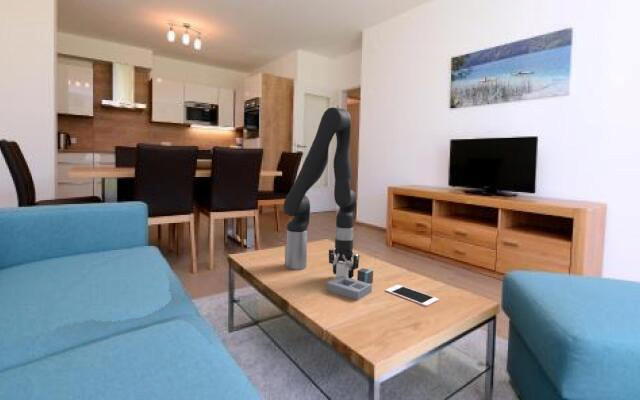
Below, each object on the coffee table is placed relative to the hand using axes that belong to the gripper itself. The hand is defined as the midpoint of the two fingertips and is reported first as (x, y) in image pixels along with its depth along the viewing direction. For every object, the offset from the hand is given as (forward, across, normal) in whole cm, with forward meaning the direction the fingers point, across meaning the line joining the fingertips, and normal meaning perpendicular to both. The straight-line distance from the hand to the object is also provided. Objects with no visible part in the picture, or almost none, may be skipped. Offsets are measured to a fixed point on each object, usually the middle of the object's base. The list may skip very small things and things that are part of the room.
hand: (342, 275), depth 144 cm
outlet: (+1, +9, -9) cm, 13 cm away
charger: (+1, 0, 0) cm, 1 cm away
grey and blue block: (+1, +9, +3) cm, 10 cm away
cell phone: (+2, +29, +3) cm, 29 cm away
